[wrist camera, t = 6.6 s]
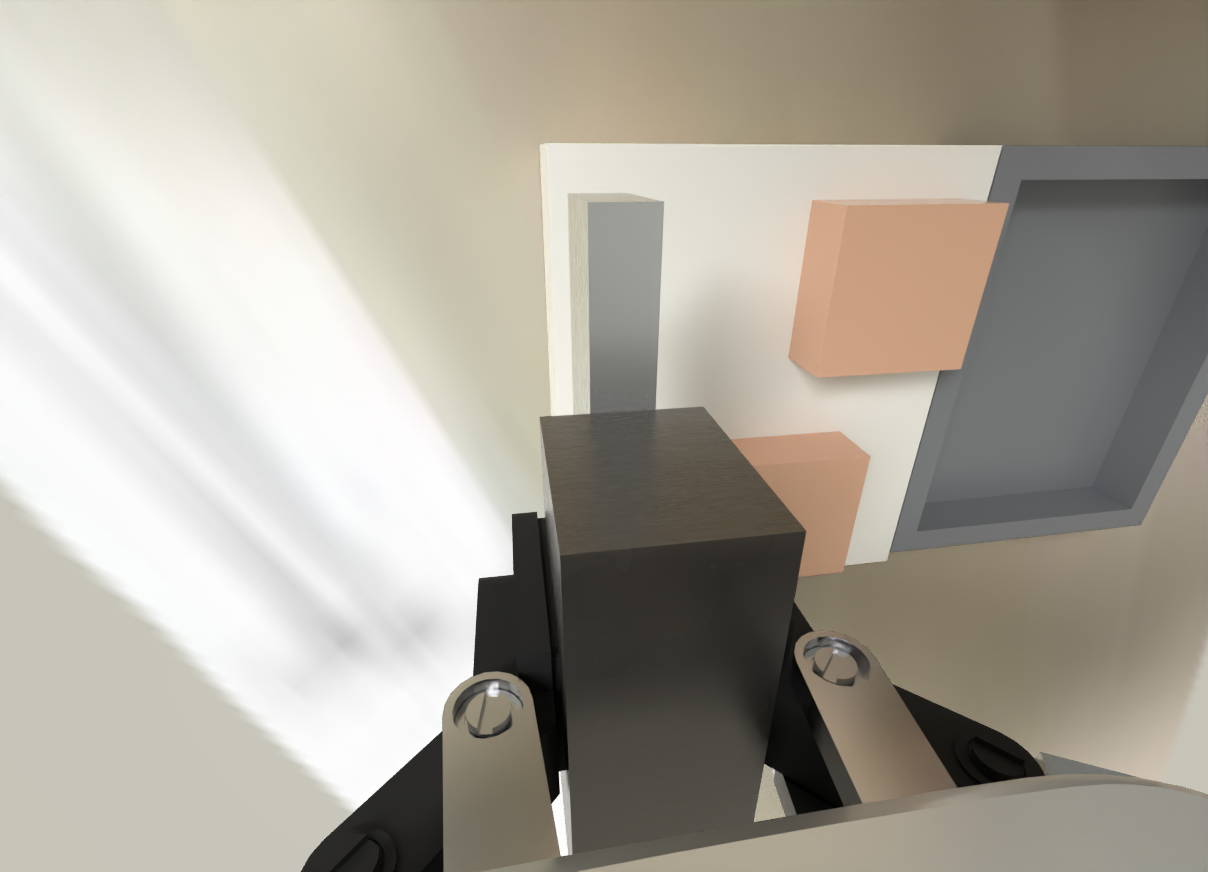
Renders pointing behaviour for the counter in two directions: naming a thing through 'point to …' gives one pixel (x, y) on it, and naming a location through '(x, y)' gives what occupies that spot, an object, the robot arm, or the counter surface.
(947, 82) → the counter surface
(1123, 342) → the tray
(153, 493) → the counter surface
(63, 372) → the counter surface
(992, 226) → the tile
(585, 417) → the dark block with bar
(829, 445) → the tile
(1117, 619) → the counter surface
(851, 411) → the offwhite board
